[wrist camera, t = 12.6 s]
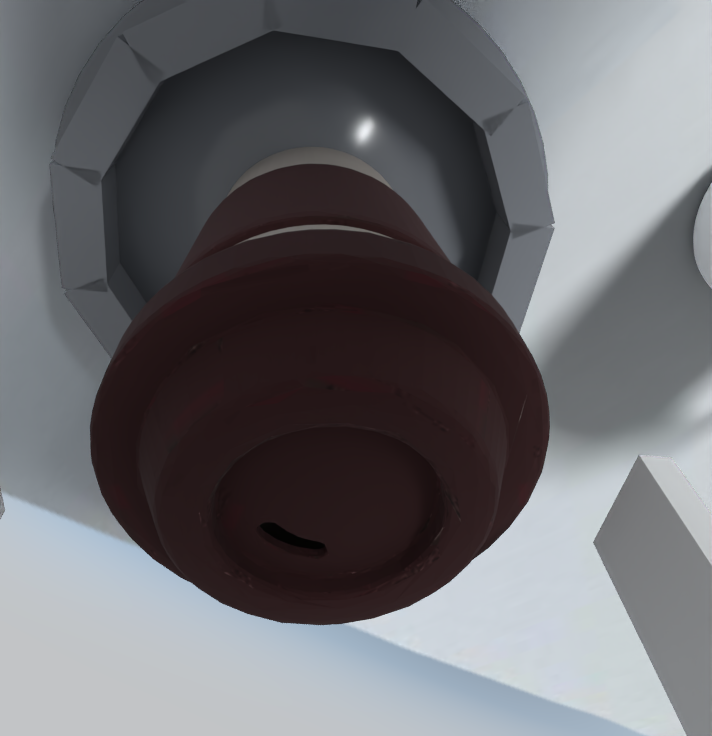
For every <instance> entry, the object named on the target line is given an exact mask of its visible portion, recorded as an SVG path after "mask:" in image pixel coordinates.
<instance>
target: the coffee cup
mask: <svg viewBox="0 0 712 736" xmlns="http://www.w3.org/2000/svg"><path fill="white" fill-rule="evenodd" d="M549 430H550V421H549V406H548V400H547V393H546V390H545V387H544V383H543V380H542V376H541V374H540V371H539V369H538V367H537V365H536V363H535V360H534V358H533V356H532V354H531V353H530V351H529V349H528V348H527V346H526V344H525V342H524V341H523V339H522V337H521V336H520V334H519V332H518V330H517V329H516V327H515V325H514V324H513V322H512V320H511V319H510V317H509V316H508V315H507V313H506V312H505V310H504V309H503V307H502V306H501V305H500V304H499V303H498V302H497V300H496V299H495V298H494V297H493V296H492V294H491V293H490V292H488V291H487V290H486V289H485V288H484V287H483V286H482V285H481V284H480V283H478V282H477V281H476V280H475V279H474V278H473V277H472V276H470V275H469V274H467V273H466V272H464V271H463V270H461V269H460V268H458V267H457V266H455V265H454V264H452V263H451V262H450V260H449V259H448V258H447V256H446V255H445V253H444V252H443V250H442V249H441V248H440V246H439V245H438V243H437V242H436V240H435V239H434V238H433V236H432V235H431V233H430V232H429V230H428V229H427V228H426V226H425V225H424V223H423V222H422V221H421V219H420V218H419V216H418V215H417V214H416V213H415V211H414V210H413V209H412V208H411V206H410V205H409V204H408V203H407V202H406V201H405V200H404V199H403V198H402V197H401V196H400V195H398V194H397V193H396V192H395V191H394V190H393V189H392V188H391V187H390V185H389V184H388V183H387V181H386V180H385V179H384V178H383V177H382V176H381V175H380V174H379V173H378V172H377V171H376V170H375V169H373V168H372V167H371V166H370V165H368V164H367V163H365V162H363V161H362V160H360V159H358V158H356V157H354V156H352V155H350V154H347V153H344V152H342V151H338V150H334V149H330V148H324V147H300V148H293V149H288V150H284V151H282V152H279V153H276V154H273V155H271V156H269V157H267V158H265V159H263V160H261V161H259V162H258V163H256V164H255V165H253V166H252V167H251V168H250V169H248V170H247V171H246V172H245V173H244V174H243V175H242V176H241V177H240V178H239V179H238V180H237V182H236V183H235V184H234V185H233V187H232V189H231V190H230V192H229V193H228V195H227V197H226V198H225V199H224V200H223V201H222V202H221V203H220V204H219V205H218V207H217V208H216V209H215V210H214V211H213V212H212V214H211V215H210V217H209V218H208V220H207V221H206V223H205V224H204V226H203V228H202V230H201V231H200V233H199V235H198V237H197V239H196V240H195V242H194V244H193V246H192V248H191V249H190V251H189V253H188V255H187V256H186V258H185V260H184V262H183V264H182V265H181V267H180V269H179V271H178V273H177V274H176V276H175V278H174V279H173V280H171V281H170V282H169V283H168V284H166V285H165V286H164V287H163V288H162V289H160V290H159V291H158V292H157V293H156V294H155V295H154V296H153V297H152V298H151V299H150V300H149V301H148V302H147V303H146V304H145V305H144V307H143V308H142V309H141V310H140V312H139V313H138V314H137V315H136V317H135V318H134V319H133V320H132V322H131V323H130V325H129V327H128V328H127V330H126V331H125V333H124V335H123V336H122V338H121V340H120V342H119V344H118V346H117V348H116V351H115V353H114V355H113V357H112V359H111V361H110V364H109V366H108V368H107V370H106V372H105V375H104V377H103V380H102V382H101V385H100V387H99V390H98V392H97V395H96V399H95V403H94V407H93V410H92V417H91V424H90V440H91V459H92V464H93V467H94V471H95V474H96V478H97V481H98V484H99V487H100V490H101V493H102V495H103V497H104V499H105V501H106V503H107V505H108V507H109V509H110V511H111V512H112V514H113V515H114V517H115V518H116V519H117V521H118V522H119V524H120V525H121V526H122V527H123V529H124V530H125V531H126V532H127V534H128V535H129V536H130V537H131V538H132V539H133V540H134V541H135V542H136V543H137V544H138V545H139V546H140V547H141V548H142V549H143V550H144V551H145V552H146V553H147V554H149V555H150V556H151V557H152V558H153V559H154V560H156V561H157V562H158V563H160V564H162V565H163V566H165V567H166V568H167V569H169V570H170V571H172V572H174V573H175V574H176V575H178V576H179V577H181V578H183V579H185V580H187V581H189V582H191V583H193V584H194V585H195V586H196V587H198V588H199V589H201V590H202V591H204V592H205V593H207V594H208V595H210V596H211V597H213V598H214V599H216V600H218V601H219V602H221V603H222V604H225V605H227V606H230V607H232V608H235V609H237V610H240V611H242V612H244V613H247V614H250V615H254V616H258V617H262V618H266V619H269V620H273V621H277V622H281V623H296V624H313V625H330V624H343V623H349V622H355V621H360V620H366V619H372V618H376V617H379V616H382V615H385V614H388V613H391V612H394V611H397V610H400V609H403V608H406V607H409V606H411V605H412V604H414V603H416V602H418V601H420V600H421V599H423V598H425V597H427V596H429V595H430V594H432V593H434V592H436V591H437V590H439V589H440V588H441V587H443V586H444V585H446V584H447V583H449V582H450V581H451V580H452V579H453V578H454V577H456V576H457V575H458V574H459V573H460V572H461V571H462V570H463V569H464V568H465V567H466V566H467V565H468V564H469V563H470V562H471V561H472V560H473V559H474V558H475V557H477V556H478V555H479V554H481V553H482V552H484V551H485V550H486V549H488V548H489V547H490V546H491V545H492V544H493V543H494V542H495V541H496V540H497V539H498V538H499V537H500V536H501V535H502V534H503V533H504V532H505V531H506V530H507V529H508V528H509V527H510V525H511V524H512V523H513V521H514V520H515V519H516V517H517V516H518V515H519V513H520V512H521V511H522V509H523V508H524V506H525V505H526V504H527V502H528V501H529V498H530V496H531V494H532V492H533V490H534V488H535V486H536V483H537V481H538V479H539V477H540V475H541V473H542V469H543V465H544V461H545V456H546V451H547V447H548V441H549Z"/></svg>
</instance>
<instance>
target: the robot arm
mask: <svg viewBox="0 0 712 736" xmlns="http://www.w3.org/2000/svg"><path fill="white" fill-rule="evenodd" d="M4 511H5V508H4V503H3V499H2V493H1V488H0V519H1V517H2V515H3V513H4ZM593 543H594V545H595V547H596V549H597V551H598V553H599V555H600V557H601V559H602V561H603V564H604V566H605V568H606V570H607V572H608V574H609V576H610V578H611V580H612V582H613V584H614V586H615V588H616V590H617V592H618V594H619V597H620V599H621V601H622V603H623V605H624V607H625V609H626V611H627V613H628V615H629V617H630V619H631V621H632V623H633V625H634V627H635V630H636V632H637V634H638V636H639V638H640V640H641V642H642V644H643V646H644V648H645V650H646V652H647V654H648V656H649V658H650V660H651V663H652V665H653V667H654V669H655V671H656V673H657V675H658V677H659V679H660V681H661V683H662V685H663V687H664V689H665V691H666V693H667V696H668V698H669V700H670V702H671V704H672V706H673V708H674V710H675V712H676V714H677V716H678V718H679V720H680V722H681V724H682V726H683V728H684V731H685V733H686V735H687V736H712V513H711V512H710V510H709V509H708V507H707V506H706V505H705V503H704V502H703V500H702V499H701V498H700V496H699V495H698V493H697V492H696V491H695V489H694V488H693V486H692V485H691V484H690V482H689V481H688V479H687V478H686V477H685V475H684V474H683V473H682V471H681V470H680V468H679V467H678V466H677V464H676V463H675V461H674V460H673V459H672V457H660V456H647V455H639V456H638V458H637V460H636V461H635V463H634V465H633V467H632V469H631V471H630V473H629V475H628V477H627V479H626V481H625V482H624V484H623V486H622V488H621V490H620V492H619V494H618V496H617V498H616V500H615V502H614V503H613V505H612V507H611V509H610V511H609V513H608V515H607V517H606V519H605V521H604V523H603V524H602V526H601V528H600V530H599V532H598V534H597V536H596V538H595V540H594V542H593Z"/></svg>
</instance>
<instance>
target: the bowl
mask: <svg viewBox="0 0 712 736" xmlns="http://www.w3.org/2000/svg"><path fill="white" fill-rule="evenodd" d="M300 147H324V148H330V149H334V150H338V151H342V152H344V153H347V154H350V155H352V156H354V157H356V158H358V159H360V160H362V161H363V162H365V163H367V164H368V165H370V166H371V167H372V168H373V169H375V170H376V171H377V172H378V173H379V174H380V175H381V176H382V177H383V178H384V179H385V180H386V181H387V183H388V184H389V185H390V187H391V188H392V189H393V190H394V191H395V192H396V193H397V194H398V195H400V196H401V197H402V198H403V199H404V200H405V201H406V202H407V203H408V204H409V205H410V206H411V208H412V209H413V210H414V211H415V213H416V214H417V215H418V216H419V218H420V219H421V221H422V222H423V223H424V225H425V226H426V228H427V229H428V230H429V232H430V233H431V235H432V236H433V238H434V239H435V240H436V242H437V243H438V245H439V246H440V248H441V249H442V250H443V252H444V253H445V255H446V256H447V258H448V259H449V260H450V262H451V263H452V264H454V265H455V266H457V267H458V268H460V269H461V270H463V271H464V272H466V273H467V274H469V275H470V276H472V277H473V278H474V279H475V280H476V281H477V282H478V283H480V284H481V285H482V286H483V287H484V288H485V289H486V290H487V291H488V292H490V293H491V294H492V296H493V297H494V298H495V299H496V300H497V302H498V303H499V304H500V305H501V306H502V307H503V309H504V310H505V312H506V313H507V315H508V316H509V317H510V319H511V320H512V322H513V324H514V325H515V327H516V329H517V330H518V332H520V329H521V327H522V324H523V321H524V318H525V315H526V312H527V309H528V306H529V303H530V300H531V297H532V294H533V291H534V288H535V285H536V282H537V279H538V276H539V273H540V270H541V267H542V264H543V261H544V258H545V255H546V252H547V249H548V246H549V243H550V240H551V237H552V234H553V231H554V227H553V226H552V225H551V224H554V223H555V222H554V217H553V212H552V208H551V203H550V199H549V194H548V173H547V166H546V159H545V152H544V145H543V141H542V137H541V134H540V130H539V127H538V123H537V120H536V116H535V113H534V110H533V108H532V106H531V103H530V101H529V99H528V97H527V94H526V92H525V90H524V88H523V85H522V83H521V81H520V79H519V78H518V76H517V74H516V73H515V71H514V70H513V68H512V67H511V65H510V63H509V62H508V60H507V59H506V57H505V55H504V54H503V52H502V51H501V49H500V48H499V47H498V46H497V45H496V44H495V42H494V41H493V40H492V39H491V38H490V37H489V35H488V34H487V33H486V32H485V31H484V30H483V28H482V27H481V26H480V25H479V24H478V23H477V22H476V21H475V20H474V19H473V18H471V17H470V16H469V15H468V14H467V13H466V12H465V11H463V10H462V9H461V8H460V7H459V6H458V5H456V4H455V3H454V2H453V1H452V0H143V1H142V2H140V3H139V4H138V5H137V6H135V7H134V8H133V9H132V10H131V11H129V12H128V13H127V14H126V15H124V16H123V18H122V19H121V20H120V21H119V22H118V23H117V24H116V25H115V27H114V28H113V29H112V30H111V31H110V32H109V33H108V34H107V36H106V37H105V38H104V39H103V40H102V41H101V42H100V43H99V45H98V46H97V48H96V49H95V51H94V53H93V54H92V56H91V57H90V59H89V60H88V62H87V63H86V65H85V67H84V68H83V70H82V71H81V73H80V74H79V76H78V79H77V81H76V83H75V86H74V88H73V90H72V92H71V95H70V97H69V99H68V101H67V104H66V106H65V109H64V113H63V116H62V120H61V124H60V127H59V131H58V135H57V139H56V144H55V151H54V153H53V155H52V156H51V159H53V160H54V161H52V162H51V163H50V164H49V165H50V175H51V184H52V194H53V210H54V216H55V224H56V234H57V244H58V254H59V264H60V274H61V284H62V288H67V289H66V291H65V292H64V294H65V295H66V296H67V298H68V299H69V301H70V302H71V303H72V305H73V306H74V307H75V309H76V310H77V312H78V313H79V314H80V316H81V317H82V318H83V320H84V321H85V323H86V324H87V325H88V327H89V328H90V329H91V331H92V332H93V334H94V335H95V336H96V338H97V339H98V340H99V342H100V343H101V344H102V346H103V347H104V349H105V350H106V351H107V353H108V354H109V355H110V357H111V358H112V357H113V355H114V353H115V351H116V348H117V346H118V344H119V342H120V340H121V338H122V336H123V335H124V333H125V331H126V330H127V328H128V327H129V325H130V323H131V322H132V320H133V319H134V318H135V317H136V315H137V314H138V313H139V312H140V310H141V309H142V308H143V307H144V305H145V304H146V303H147V302H148V301H149V300H150V299H151V298H152V297H153V296H154V295H155V294H156V293H157V292H158V291H159V290H160V289H162V288H163V287H164V286H165V285H166V284H168V283H169V282H170V281H171V280H173V279H174V278H175V276H176V274H177V273H178V271H179V269H180V267H181V265H182V264H183V262H184V260H185V258H186V256H187V255H188V253H189V251H190V249H191V248H192V246H193V244H194V242H195V240H196V239H197V237H198V235H199V233H200V231H201V230H202V228H203V226H204V224H205V223H206V221H207V220H208V218H209V217H210V215H211V214H212V212H213V211H214V210H215V209H216V208H217V207H218V205H219V204H220V203H221V202H222V201H223V200H224V199H225V198H226V197H227V195H228V193H229V192H230V190H231V189H232V187H233V185H234V184H235V183H236V182H237V180H238V179H239V178H240V177H241V176H242V175H243V174H244V173H245V172H246V171H247V170H248V169H250V168H251V167H252V166H253V165H255V164H256V163H258V162H259V161H261V160H263V159H265V158H267V157H269V156H271V155H273V154H276V153H279V152H282V151H284V150H288V149H293V148H300Z"/></svg>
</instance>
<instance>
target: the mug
mask: <svg viewBox="0 0 712 736" xmlns="http://www.w3.org/2000/svg"><path fill="white" fill-rule="evenodd" d="M693 248H694V255H695V260H696V263H697V267H698V269H699V271H700V273H701V275H702V277H703V278H704V280H705V281H706V282H707V284H708V285H709V286H710V288H711V289H712V183H711V184H710V186H709V188H708V190H707V192H706V193H705V195H704V197H703V200H702V202H701V205H700V207H699V210H698V213H697V217H696V220H695V226H694V233H693Z"/></svg>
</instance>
